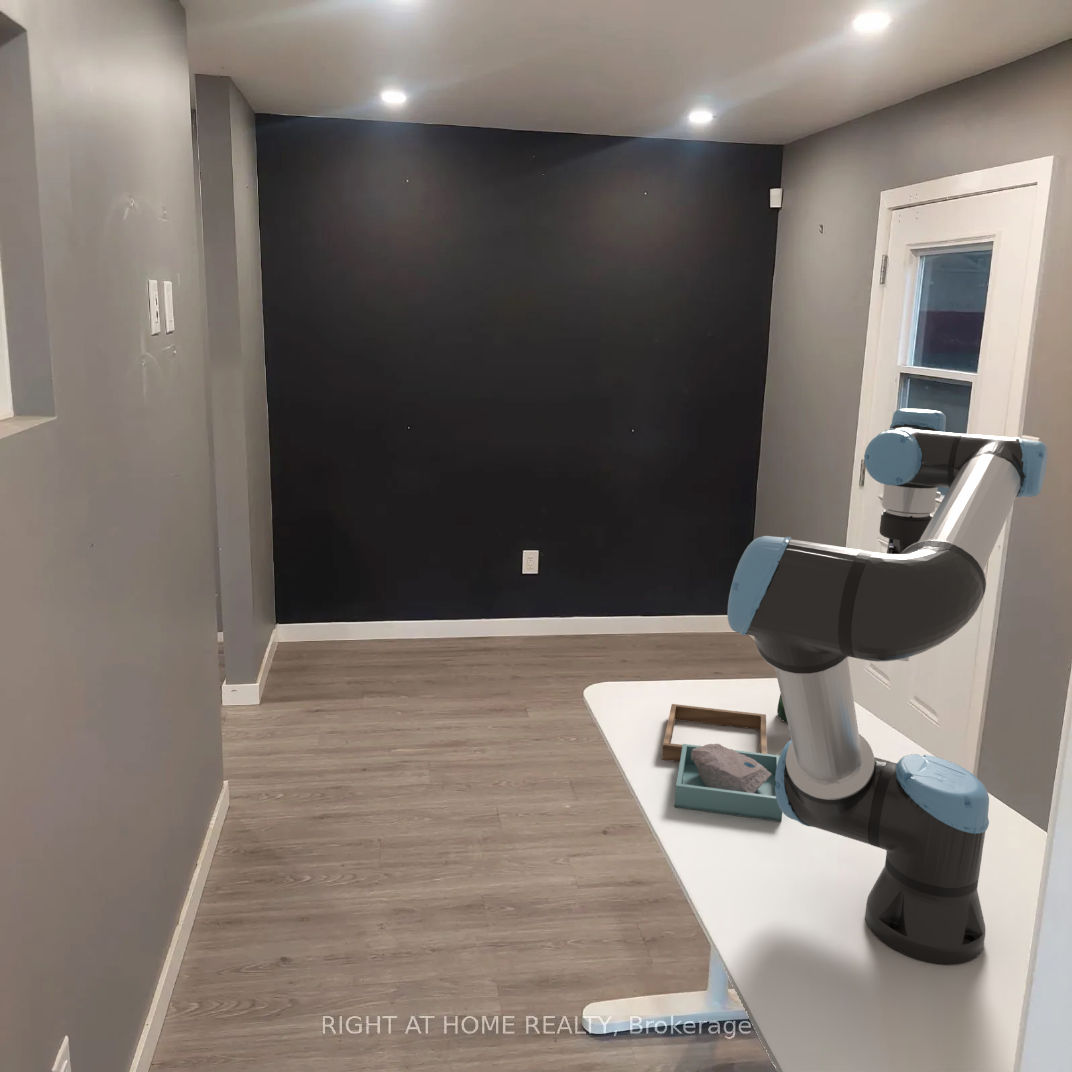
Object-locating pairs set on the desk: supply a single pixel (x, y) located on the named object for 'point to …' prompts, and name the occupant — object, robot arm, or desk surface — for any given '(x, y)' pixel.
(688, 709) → the frame
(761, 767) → the stone
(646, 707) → the desk surface
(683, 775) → the bin
